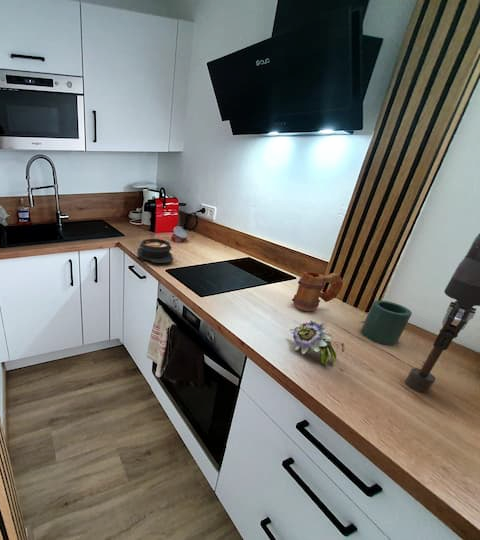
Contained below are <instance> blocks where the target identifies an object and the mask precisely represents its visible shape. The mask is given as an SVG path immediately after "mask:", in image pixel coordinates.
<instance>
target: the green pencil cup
mask: <svg viewBox="0 0 480 540" xmlns="http://www.w3.org/2000/svg"><path fill="white" fill-rule="evenodd" d="M412 313H413V311H411V310H410V309H409V308H407V307H405V306H403V305H401V304H398V303H395V302H392V301H388V300H381V299H377V300H374V301H373V302H372V304H371V307H370V309H369V311H368V313H367V316H366V318H365V320H364V322H363V325H362V327H361V330H360V333H361V334H362V335H363V336H364V337H365V338H366V339H368V340H370V341H372V342H374V343H377V344H380V345H383V346H384V345H385V346H395V345H397V343H398V342H399V340H400V338H401V336H402V334H403V333H404V331H405V328H406V326H407V325H408V322H409V320H410V318H411V316H412Z"/></svg>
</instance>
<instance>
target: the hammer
mask: <svg viewBox="0 0 480 540" xmlns="http://www.w3.org/2000/svg"><path fill="white" fill-rule="evenodd" d="M446 330H449V329H446ZM449 331H452V330H449ZM452 332H455V331H452ZM443 352H444V350H442V349H440V348H437V347H435V346H434V345H433V348H432V349H431V351H430V353H429V354H428V356H427V358H426V359H425V362H424V363H423V365H422V366H421V368H417V367H412V368H411V369H410V371H409V373H408V375H407V377H406V378H405V380H404V383H405V385H406V386H407V387H408V388H410V389H411V390H414V391H416V392H418V393H422V394H427V393H429V391H430V390H431V388H432V386H433V385H434V383H435V382H436V376H435V375H434V374H432V373H431V372H432V371H433V368H434V367H435V365H436V363H437V362H438V360H439V359H440V357H441V355H442V353H443Z"/></svg>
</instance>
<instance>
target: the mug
mask: <svg viewBox="0 0 480 540" xmlns="http://www.w3.org/2000/svg"><path fill="white" fill-rule="evenodd" d="M326 283H328V284H330V285H331V286H330V287H329V289H328V290H327V291H325V292H322V289H324V287H325V285H326ZM297 284H298V286H297V289H296V293H295V294H294V295H293V298H292V299H291V301H292V305H293V306H294V307H295V308H297V309H298V310H301V311H302V312H303V311H304V312H312V311H315V310H316V309H317V308H318V307H319V306H320V304H319V303H321V300H323V301H324V303H329V302H331V301H332V300H334V299H335V298H336V297H338V295H339V294H340V292H342V291H341V290H342V289H343V285H344V282H343V279H342V277H341V276H340V274H338V273H336V272H331V273H329V274H327V275H324V274H323V273H321V274H320V273H319V272H316V271H310V270H309V271H304V272H303V273H302V276H301V277H300V278H299V280H298V281H297Z"/></svg>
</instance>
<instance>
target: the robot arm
mask: <svg viewBox="0 0 480 540" xmlns="http://www.w3.org/2000/svg"><path fill="white" fill-rule="evenodd" d="M444 294H445V295H446V296H447V297H449V298H450V299H453V300H455V301H450V303H449V304H448V307H447V309H446V313H445V315H444V316H443V319H442V321H441V325H442V327H441V329H439V333H438V335H437V336H436V338H435V341H434V343H433V347H434V346H435V347H437V348H440V349H442V350H443V351H446V350H448V348H449V346H450V345H451V344H452V341H453V340H454V339H456V338H458V335H459V334H460V332H461V331H462V330H465V328H466V326H467V325H468V323H469V321H470V320H472V319H473V318H474V316H475V315H476V313H477V308H476V307H480V232H479V233H478V234H477V235H475V238H474V239H473V241H472V243H471V245H470V247H469V249H468V250H467V252H466V254H465V256H464V257H463V258H462V260H461V261H460V263H458V265H457V267H456V268H455V270H454V272H453V274H452V276H451V277H450V280H449V281H448V283H447V285H446V287H445V289H444ZM446 329H449V330H452V331H455V332H452V331H449V330H446Z"/></svg>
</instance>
